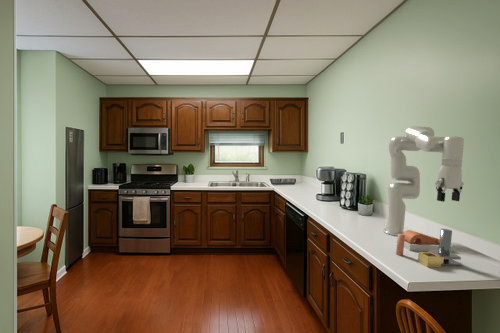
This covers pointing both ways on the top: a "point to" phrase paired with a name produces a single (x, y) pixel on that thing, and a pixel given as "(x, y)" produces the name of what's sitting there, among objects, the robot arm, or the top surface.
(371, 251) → the top surface
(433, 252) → the yellow and grey fixture
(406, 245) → the pipe rack
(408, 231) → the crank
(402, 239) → the pin
